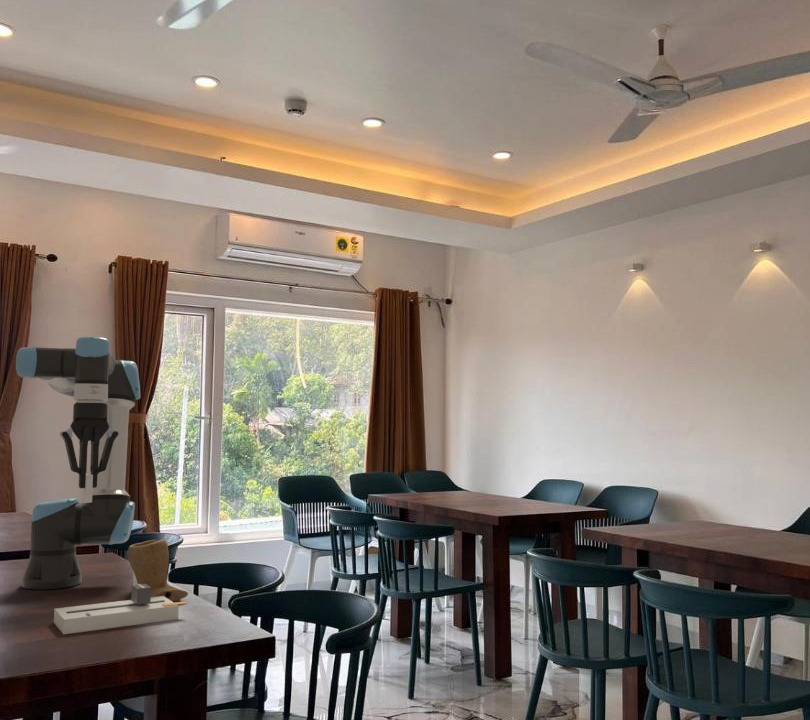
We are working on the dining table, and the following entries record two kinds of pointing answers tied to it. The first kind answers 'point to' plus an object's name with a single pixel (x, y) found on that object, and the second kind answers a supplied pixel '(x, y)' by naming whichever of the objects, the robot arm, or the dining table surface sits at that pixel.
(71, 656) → the dining table surface
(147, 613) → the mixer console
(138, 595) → the fader knob
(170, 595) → the tan boot
